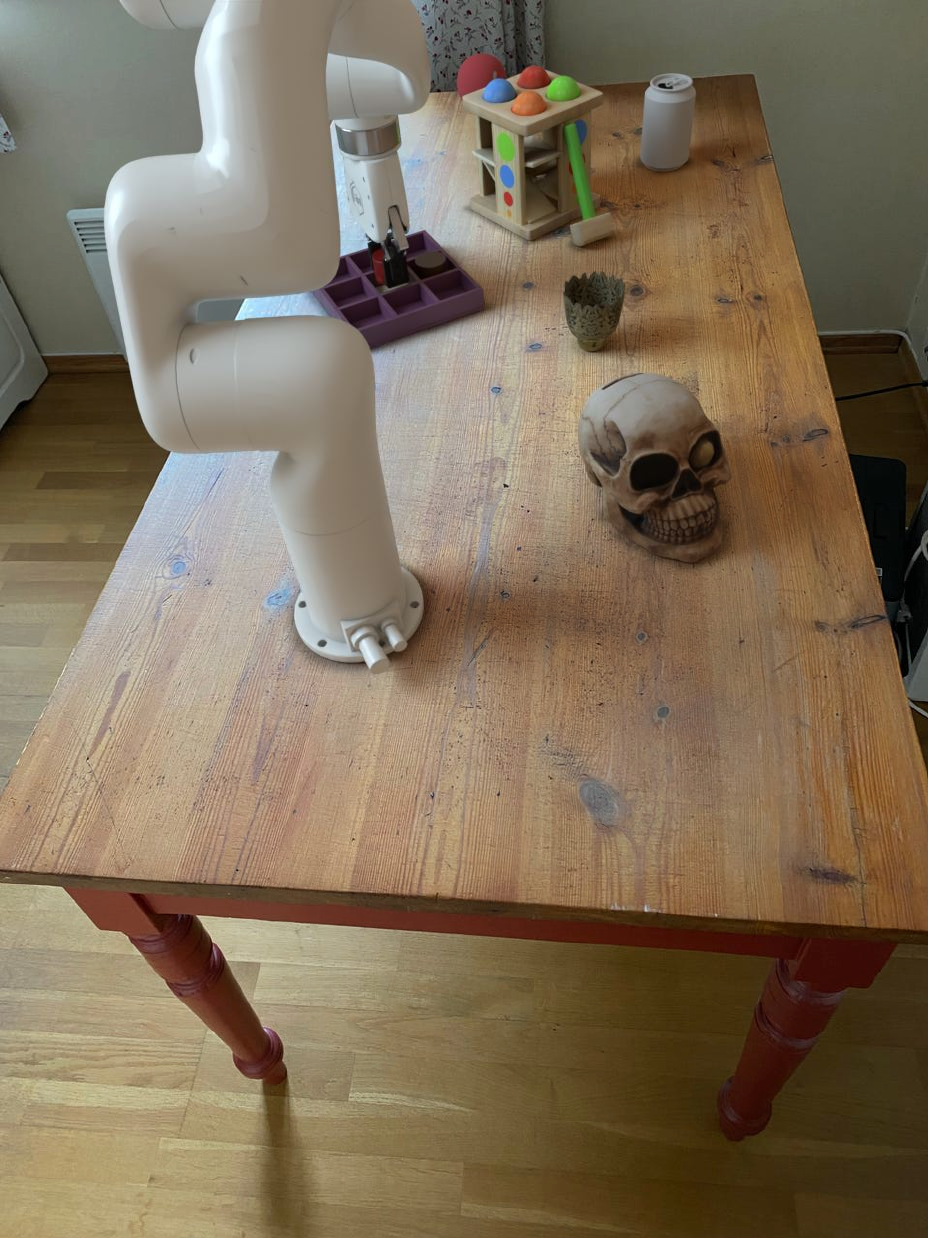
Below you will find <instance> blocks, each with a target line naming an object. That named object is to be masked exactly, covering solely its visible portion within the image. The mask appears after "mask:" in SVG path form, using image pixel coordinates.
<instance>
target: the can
mask: <svg viewBox="0 0 928 1238" xmlns="http://www.w3.org/2000/svg"><path fill="white" fill-rule="evenodd" d="M649 84H650V85H649V86H648V87H647V89H646V90H645V92H644V102H643V115H642V128H641V129H642V130H641V142H640V143H641V144H640V154H639V158H640V161H641V163H643V164H644V166H645V167H646V168H647V169H649V170H651V171H655V172H661V173H664V172H665V173H666V172H671V171H676V170H678V169H680V168H681V167H683V165H684V164H685V163H686V162H688V160H689V157H690V150H691V139H692V133H693V132H692V131H693V124H694V116H695V115H694V114H695V106H696V99H697V90H696V88H695V87H694V86H693V84H694V81H693V79H692V78H691V77H690V76H689V75H686V74H682V73H675V72H673V73H672V72H671V73H663V74H662V73H661V74H659V75H656V76H654V77H652V79H651V80H650V82H649Z"/></svg>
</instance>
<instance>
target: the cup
mask: <svg viewBox="0 0 928 1238" xmlns="http://www.w3.org/2000/svg"><path fill="white" fill-rule="evenodd" d="M587 275H588V274H587V272H586V271H584V272H582V274H581V276H580V277H578V276H577V275H575V274H573V275H571V276H570V278H569V279H568V280H565V281H564V283H563V288H564V291H562V295H563V306H564V314H565V320H566V324H567V327H568V329H569V332H570V333H571V334H572V335H573V336H574V337H575V338H576V341H577V344H578V346H579V347H580V349H582V350H584V351H586V352H597V351H600V350H602V349H603V348H604V347H605V346H606V344H607V342H608V339H609V337H611V336H612V335H613V334H614V333H615V332H616V330H617V328H618V326H619V323H620V320H621V315H622V311H623V306H624V301H625V295H626V292H625V290H626V283H624V281H623V278H622V277H618V278H616V277H615V274H614V273H612V274H610V276H609V277H608V276H607V275H606V274H605V272H604V271H600V273H599V274H598V273H597V271H596V270H594V271H592V272H591V273H590V275H589V276H587ZM615 278H616V279H615Z"/></svg>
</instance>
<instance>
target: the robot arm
mask: <svg viewBox="0 0 928 1238" xmlns="http://www.w3.org/2000/svg"><path fill="white" fill-rule="evenodd" d="M118 1H119V3H120V4H121V6H122V7H123V9H124V10H125V11H126V12H127V13H128V14H129V16H131V17H132V18H133V19H134V20H135V21H137V22H138V23H139V24H141V25H143V26H145V27H148V28H149V29H152V30H153V29H154V30H160V31H178V30H179V31H181V30H187V29H188V30H189V29H196V28H197V29H198V28H199V29H200V28H203V29H202V32H201V33H200V37H199V41H198V44H197V46H196V47H197V48H196V51H195V52H196V54H195V58H194V78H195V79H194V80H195V85H196V91H197V99H198V107H199V114H200V122H201V129H202V144H201V148H200V150H199V151H198V152H191V153H177V154H176V153H175V154H165V155H155V156H148V157H142V158H139V159H136V160H135V159H134V160H132V161H130V162H127V163H126V164H124V165H123V166H121V167H120V168H119V169H118V170H117V171H116V172H115V173H114V174H113V177H112V178H111V179H110V182H109V184H108V187H107V190H106V194H105V201H104V208H103V215H104V216H103V227H104V239H105V245H106V252H107V258H108V264H109V269H110V275H111V280H112V285H113V290H114V295H115V300H116V305H117V311H118V316H119V321H120V326H121V331H122V336H123V341H124V347H125V351H126V358H127V360H128V361H127V362H128V368H129V372H130V377H131V382H132V386H133V391H134V396H135V400H136V404H137V408H138V411H139V415H140V417H141V420H142V422H143V425H144V427H145V430H146V431H147V433H148V434H149V436H150V438H151V439H152V440H153V441H154V442H155V443H156V444H157V445H158V446H160V447H161V448H162V449H164V450H165V451H169V452H171V453H175V454H181V455H208V454H223V453H243V452H262V453H263V452H264V453H265V452H277V455H275V459H274V461H273V463H272V467H271V469H270V471H269V472H270V473H269V478H268V492H269V493H268V494H269V499H270V502H271V505H272V508H273V511H274V514H275V516H276V519H277V522H278V524H279V528H280V531H281V533H282V536H283V540H284V542H285V545H286V549H287V551H288V554H289V558H290V561H291V563H292V567H293V569H294V572H295V575H296V579H297V582H298V584H299V587H300V590H301V591H300V592H299V594H298V597H297V599H296V601H295V605H294V613H293V618H294V623H295V627H296V630H297V633H298V635H299V637H300V639H301V640H302V642H303V644H304V645H305V646H307V648H308V649H310V650H311V651H312V652H314V653H315V654H317V655H319V656H320V657H322V658H325V659H328V660H331V661H333V662H334V661H335V662H341V663H362V662H365V664H366V665H367V667H368V669H369V671H370V673H371V674H373V675H380V674H383V673H385V672H386V671H387V670H388V669H389V668H390V667H391V661H390V659H389V657H388V656H387V655H388V654H391V653H393V652H397V653H400V652H403V651H404V650H406V649H407V647H408V641H409V640H410V639H411V638H412V637H413V635H414V634H415V633H416V631H417V629H418V628H419V626H420V624H421V621H422V619H423V615H424V610H425V602H424V601H425V599H424V595H423V590H422V588H421V587H422V586H421V585H420V582H419V580H418V579H417V578H416V577H415V576H414V574H413V573H412V572H411V571H409V569H407V568H406V567H404V566H403V565H401V560H400V553H399V550H398V549H399V548H398V545H397V539H396V534H395V529H394V524H393V519H392V514H391V509H390V505H389V499H388V495H387V489H386V484H385V479H384V474H383V468H382V463H381V462H382V461H381V457H380V451H379V443H378V434H377V433H378V432H377V418H376V417H377V415H376V413H377V411H376V410H377V409H376V372H375V364H374V359H373V354H372V350H371V348H370V347H369V345H368V343H367V341H366V340H365V338H364V336H363V335H362V334H361V333H360V331H358V330H357V329H356V328H355V327H353V326H352V325H350V324H349V323H347V322H344V321H342V320H339V319H335V318H331V317H329V316H326V315H316V314H315V315H313V314H307V315H306V314H297V315H296V314H295V315H280V316H263V317H250V318H247V317H246V318H244V319H233V320H217V321H203V322H198V309H199V306H200V304H201V303H205V302H216V301H230V300H232V301H233V300H244V299H245V300H246V299H248V300H249V299H261V298H274V297H275V298H276V297H284V296H294V295H300V294H305V293H306V294H307V293H310V292H311V291H314V290H317V289H320V288H322V287H324V286H325V285H327V284H328V283H330V282H331V281H332V279H333V278H334V277H335V275H336V273H337V270H338V267H339V262H340V257H341V250H342V249H341V247H342V246H341V245H342V243H341V242H342V241H341V238H342V237H341V222H340V210H339V201H338V200H339V199H338V191H337V180H336V179H337V178H336V170H335V169H336V168H335V161H334V159H335V158H334V151H333V150H334V149H333V143H332V142H333V140H332V132H331V124H330V123H331V122H330V121H333V122H334V127H335V132H336V138H337V144H338V149H339V153H340V155H341V156H342V164H343V165H342V166H343V174H344V182H345V189H346V196H347V202H348V203H347V204H348V208H349V209H348V210H349V213H350V216H351V217H352V219H353V220H354V222H355V223H356V224H357V225H358V226H359V227H360V229H361V230H362V231H363V232H364V234H365V238H366V241H367V248H368V250H369V256H370V262H371V268H372V270H373V271H374V265H373V260H372V255H373V253H374V252H375V251H376V250H378V249H380V248H382V251H383V255H384V259H382V265H383V271H384V277H385V284H386V286H387V287H388V288H389V289H390V288H393V287H396V286H399V285H402V284H405V283H408V282H409V274H408V267H407V260H406V250H407V249H408V248H409V245H408V242H407V239H406V236H407V235H408V234H409V232H410V228H411V227H410V226H411V225H410V224H411V223H410V213H409V206H408V199H407V193H406V188H405V182H404V178H403V177H404V176H403V172H402V167H401V161H400V157H399V153H398V151H399V149H400V148H401V147H402V143H403V142H402V134H401V126H400V120H399V116H400V115H401V116H402V115H410V114H413V113H416V112H418V111H420V110H421V109H422V108H423V107H424V106H426V105H425V104H426V103H427V101H428V99H429V97H430V92H431V86H432V70H431V68H432V67H431V60H430V54H429V50H428V49H429V48H428V44H427V39H426V35H425V34H426V33H425V31H424V30H425V29H424V26H423V22H422V19H421V16H420V14H419V12H418V10H417V7H416V6H415V4H414V3H413V1H412V0H118ZM389 230H390V232H389ZM391 240H394V244H393V245H392V243H391ZM388 247H389V248H388ZM374 272H375V271H374ZM311 293H312V292H311Z"/></svg>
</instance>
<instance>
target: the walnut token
mask: <svg viewBox="0 0 928 1238" xmlns="http://www.w3.org/2000/svg"><path fill="white" fill-rule="evenodd" d="M415 265H416V273H417V276H418V277H419V278H420V279H421V280H423V279H426V278H429V277H432V276H435V275H438V274H441V273H444V272H447V266H446V257H445V255H444V254H442V253H440V252H434V251H432V252H425V253H422V254H420V255H419V256H417V257H416V259H415Z"/></svg>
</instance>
